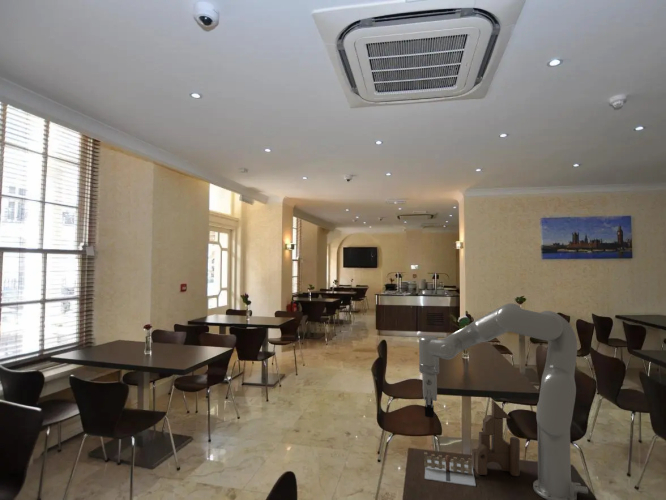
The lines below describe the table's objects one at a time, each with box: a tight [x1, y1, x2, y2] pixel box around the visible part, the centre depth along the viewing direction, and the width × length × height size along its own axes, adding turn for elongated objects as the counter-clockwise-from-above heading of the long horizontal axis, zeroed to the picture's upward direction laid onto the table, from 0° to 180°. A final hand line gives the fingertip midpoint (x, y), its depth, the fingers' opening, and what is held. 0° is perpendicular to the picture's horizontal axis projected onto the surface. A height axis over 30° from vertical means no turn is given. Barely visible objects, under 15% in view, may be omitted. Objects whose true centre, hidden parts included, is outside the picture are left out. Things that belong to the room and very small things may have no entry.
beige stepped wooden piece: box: [423, 451, 451, 471], centre depth 143 cm, size 9×1×5 cm, turn 75°
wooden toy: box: [471, 399, 521, 477], centre depth 142 cm, size 15×7×25 cm, turn 88°
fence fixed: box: [450, 456, 472, 475], centre depth 140 cm, size 7×1×6 cm, turn 75°
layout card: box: [424, 460, 477, 487], centre depth 141 cm, size 17×14×1 cm
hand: (429, 416), depth 150 cm, fingers closed
